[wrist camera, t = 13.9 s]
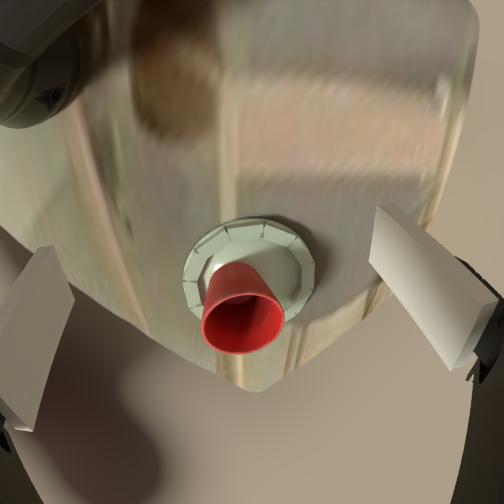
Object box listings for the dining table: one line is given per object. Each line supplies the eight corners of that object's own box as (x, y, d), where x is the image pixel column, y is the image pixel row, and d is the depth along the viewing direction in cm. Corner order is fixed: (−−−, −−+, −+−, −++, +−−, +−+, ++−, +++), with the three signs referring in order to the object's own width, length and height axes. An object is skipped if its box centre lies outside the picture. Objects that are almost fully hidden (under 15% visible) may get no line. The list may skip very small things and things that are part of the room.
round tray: (196, 333, 54) (196, 342, 52) (171, 228, 44) (170, 235, 42) (309, 315, 56) (313, 323, 54) (312, 209, 46) (317, 215, 44)
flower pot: (280, 293, 51) (296, 335, 43) (219, 320, 52) (224, 365, 44) (254, 240, 46) (267, 279, 37) (185, 272, 47) (184, 316, 38)
